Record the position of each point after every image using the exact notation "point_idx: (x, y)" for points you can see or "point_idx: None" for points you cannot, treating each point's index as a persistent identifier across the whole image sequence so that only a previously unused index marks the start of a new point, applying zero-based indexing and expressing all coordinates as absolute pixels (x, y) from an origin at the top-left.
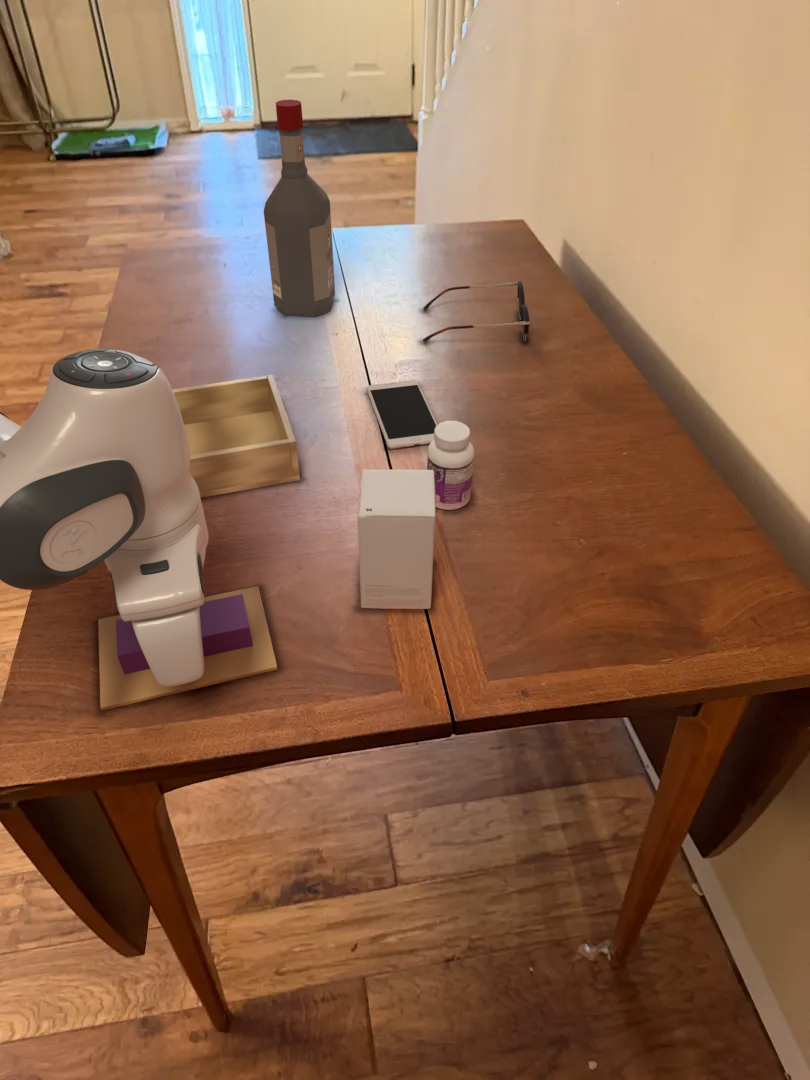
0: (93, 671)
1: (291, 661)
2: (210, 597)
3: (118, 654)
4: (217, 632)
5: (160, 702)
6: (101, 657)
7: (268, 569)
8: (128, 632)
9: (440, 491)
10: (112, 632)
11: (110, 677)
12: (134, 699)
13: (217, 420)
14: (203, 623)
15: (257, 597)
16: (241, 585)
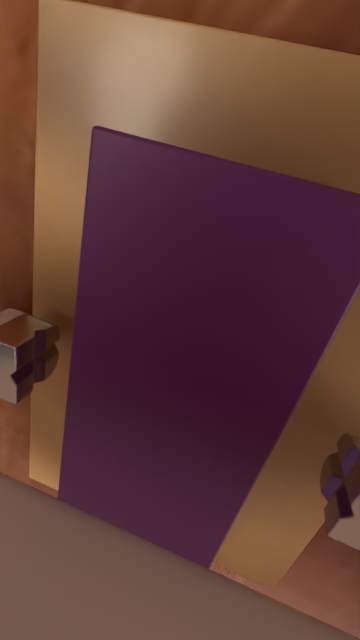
0: (274, 4)
1: (48, 492)
2: (321, 512)
3: (98, 135)
4: (63, 499)
5: (29, 225)
6: (309, 60)
7: (323, 621)
8: (232, 245)
9: None
10: None
11: (167, 79)
12: (38, 149)
13: None
14: (118, 496)
15: (236, 567)
16: (318, 565)
